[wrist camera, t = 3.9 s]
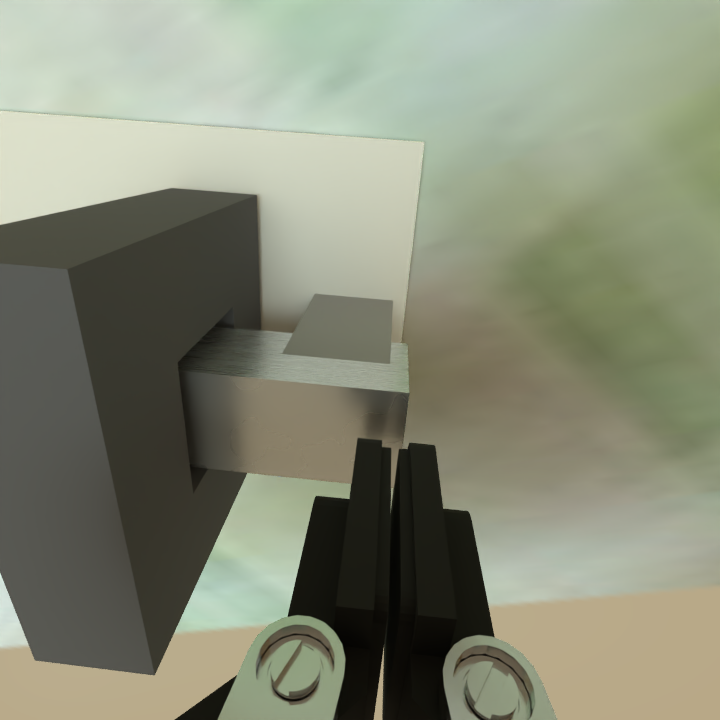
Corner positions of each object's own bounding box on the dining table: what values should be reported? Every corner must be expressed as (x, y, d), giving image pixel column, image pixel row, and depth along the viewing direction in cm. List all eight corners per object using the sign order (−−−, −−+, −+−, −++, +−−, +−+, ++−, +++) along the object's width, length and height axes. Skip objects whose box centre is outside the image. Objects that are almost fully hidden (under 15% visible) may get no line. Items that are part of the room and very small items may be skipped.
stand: (423, 141, 16) (436, 144, 10) (386, 463, 22) (381, 580, 16) (-228, 93, 17) (-555, 70, 11) (-91, 414, 23) (-257, 507, 17)
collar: (257, 194, 16) (66, 269, 7) (264, 435, 20) (154, 675, 11) (171, 188, 16) (-126, 252, 7) (196, 429, 20) (35, 660, 11)
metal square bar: (407, 341, 14) (409, 392, 11) (397, 427, 15) (396, 491, 13) (-332, 273, 15) (-499, 304, 12) (-280, 359, 16) (-420, 404, 14)
